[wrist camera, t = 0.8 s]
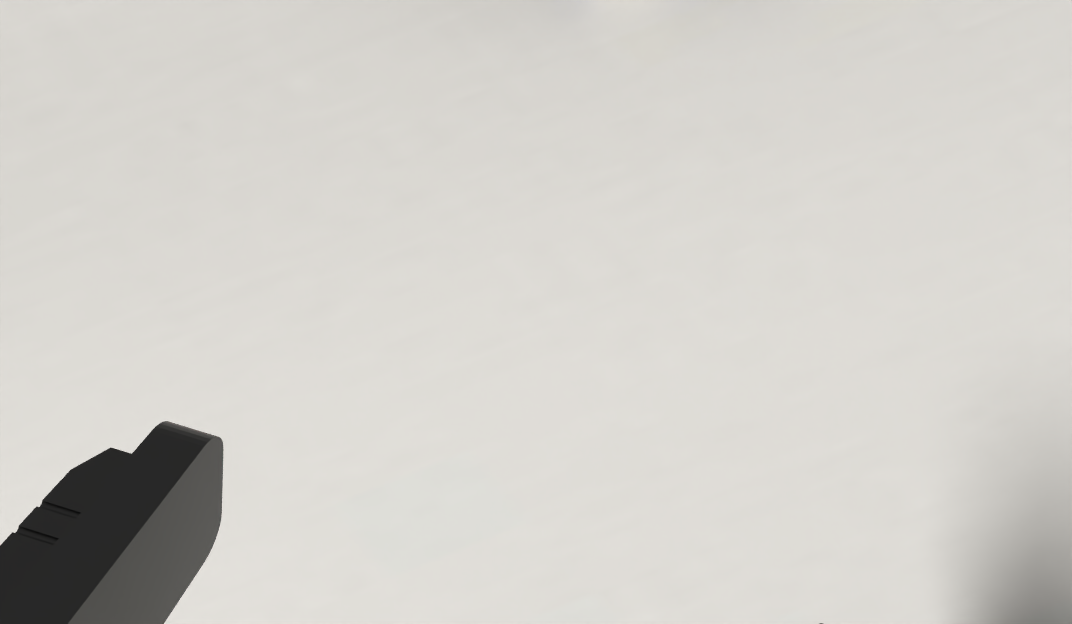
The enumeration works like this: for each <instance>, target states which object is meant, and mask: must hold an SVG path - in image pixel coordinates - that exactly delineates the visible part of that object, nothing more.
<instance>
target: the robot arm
mask: <svg viewBox="0 0 1072 624" xmlns="http://www.w3.org/2000/svg"><path fill="white" fill-rule="evenodd" d="M222 479H223V442H222V439H221V438H220V437H217V436H214V435H211V434H207V433H204V432H201V431H198V430H194V429H191V428H188V427H184V426H181V425H178V424H175V423H171V422H168V421H165V422H162V423H160V424H159V425H157V426H156V427H155V428H154V429H153V430H152V431H151V432H150V434H149V435H148V436H147V437H146V438H145V439H144V441H143V442H142V443H141V444H140V445H139V446H138V447H137V449H136V450H135V451H134V452H133V453H132V454H130V453H127V452H124V451H120V450H117V449H114V448H109V449H107V450H106V451H104V452H102V453H100V454H98V455H97V456H95V457H93V458H91V459H89V460H87V461H86V462H84V463H82V464H80V465H78V466H77V467H75V468H73V469H71V470H70V471H69V472H68V473H67V474H66V476H65V477H64V478H63V479H62V480H61V481H60V482H59V483H58V484H57V485H56V486H55V487H54V488H53V490H52V491H51V492H50V493H49V494H48V495H47V496H46V497H45V498H44V499H43V500H42V504H41V506H40V507H36V508H35V509H34V510H33V511H32V512H31V513H30V514H29V515H28V516H27V517H26V519H25V520H24V521H23V522H22V523H21V524H20V525H19V528H18V530H17V532H16V533H12V534H11V535H10V536H9V537H8V538H7V539H6V540H5V541H4V542H3V543H2V544H1V545H0V624H164V622H165V621H166V619H167V618H168V616H169V615H170V613H171V612H172V610H173V609H174V607H175V606H176V604H177V603H178V601H179V600H180V598H181V597H182V595H183V594H184V592H185V591H186V589H187V588H188V586H189V585H190V583H191V582H192V580H193V578H194V577H195V575H196V574H197V572H198V571H199V569H200V568H201V566H202V565H203V563H204V562H205V560H206V558H207V557H208V555H209V553H210V551H211V549H212V546H213V544H214V542H215V539H216V536H217V533H218V530H219V526H220V522H221V514H222ZM820 624H822V623H820Z"/></svg>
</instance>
